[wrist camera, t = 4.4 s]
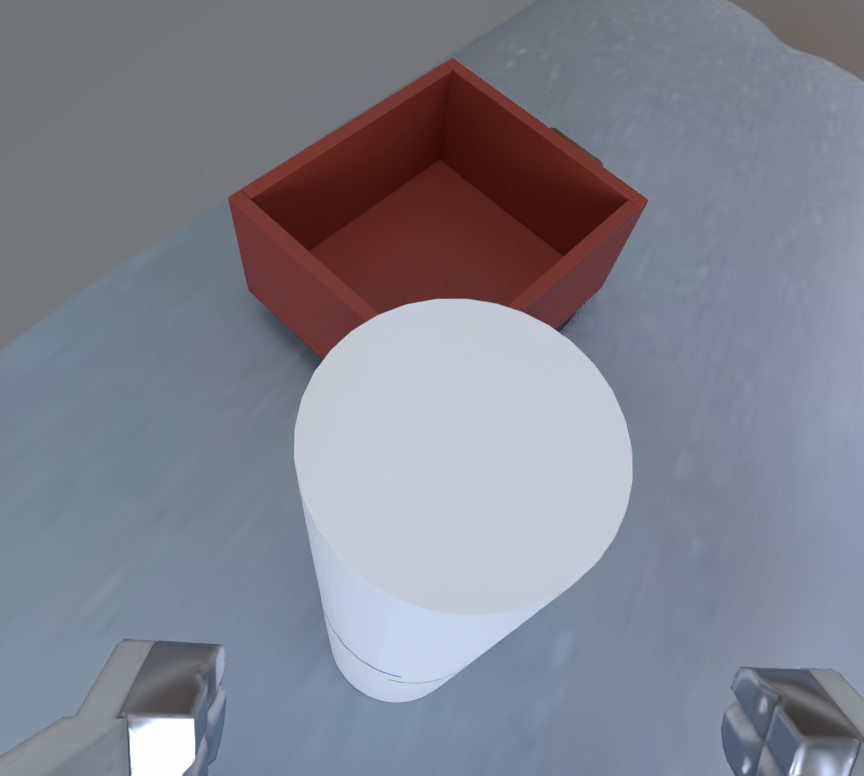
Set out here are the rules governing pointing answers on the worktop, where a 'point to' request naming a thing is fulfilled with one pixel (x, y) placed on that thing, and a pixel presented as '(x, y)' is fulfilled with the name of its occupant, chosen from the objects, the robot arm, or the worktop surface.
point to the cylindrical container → (452, 485)
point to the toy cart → (432, 214)
